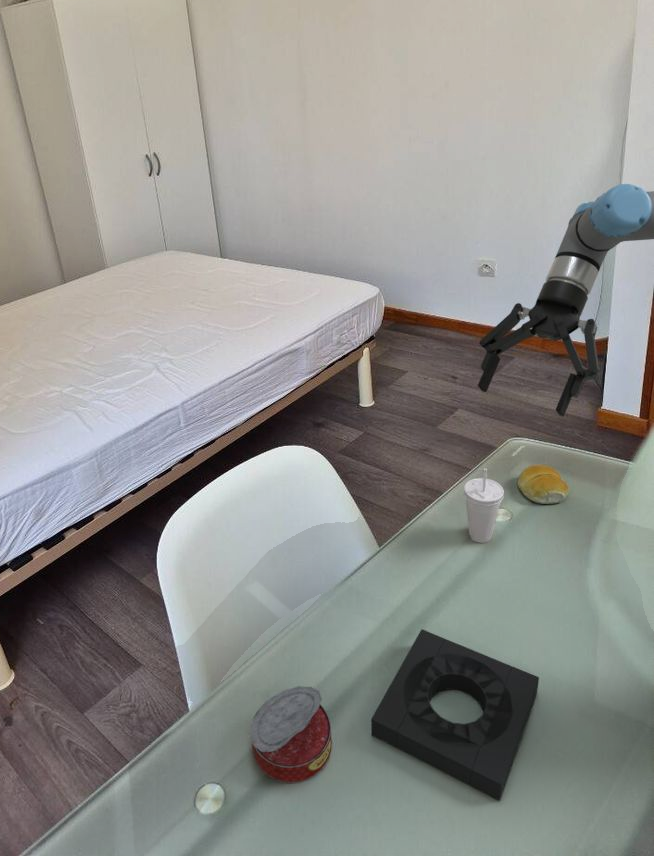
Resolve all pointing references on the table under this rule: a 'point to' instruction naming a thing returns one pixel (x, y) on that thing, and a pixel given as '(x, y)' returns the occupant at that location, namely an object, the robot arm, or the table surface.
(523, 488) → the bread roll
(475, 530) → the smoothie
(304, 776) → the canned food
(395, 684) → the socket pad
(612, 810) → the table surface
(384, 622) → the table surface
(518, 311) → the robot arm
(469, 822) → the table surface
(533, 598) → the table surface
